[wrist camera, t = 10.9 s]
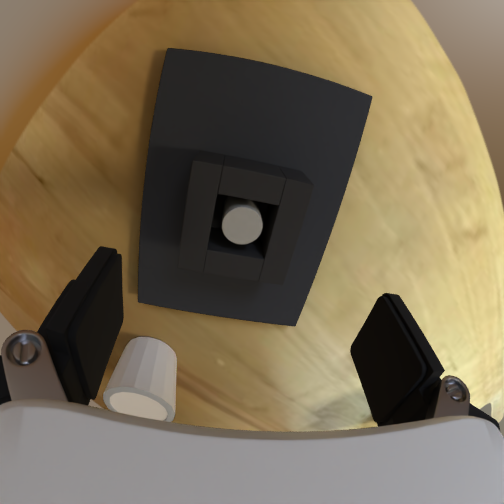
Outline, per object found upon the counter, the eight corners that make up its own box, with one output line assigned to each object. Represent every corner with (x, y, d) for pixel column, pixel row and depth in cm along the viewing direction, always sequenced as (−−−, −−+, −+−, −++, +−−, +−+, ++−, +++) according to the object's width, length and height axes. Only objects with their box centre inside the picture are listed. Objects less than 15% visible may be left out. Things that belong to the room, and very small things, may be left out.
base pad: (171, 50, 16) (153, 38, 12) (366, 96, 18) (397, 97, 14) (141, 294, 25) (127, 329, 21) (293, 318, 28) (302, 355, 23)
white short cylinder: (192, 372, 31) (186, 426, 24) (138, 377, 31) (126, 427, 25) (167, 327, 27) (154, 385, 21) (109, 336, 28) (88, 388, 22)
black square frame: (199, 150, 19) (192, 159, 16) (302, 171, 20) (314, 184, 17) (184, 243, 22) (177, 268, 19) (276, 259, 23) (283, 285, 20)
